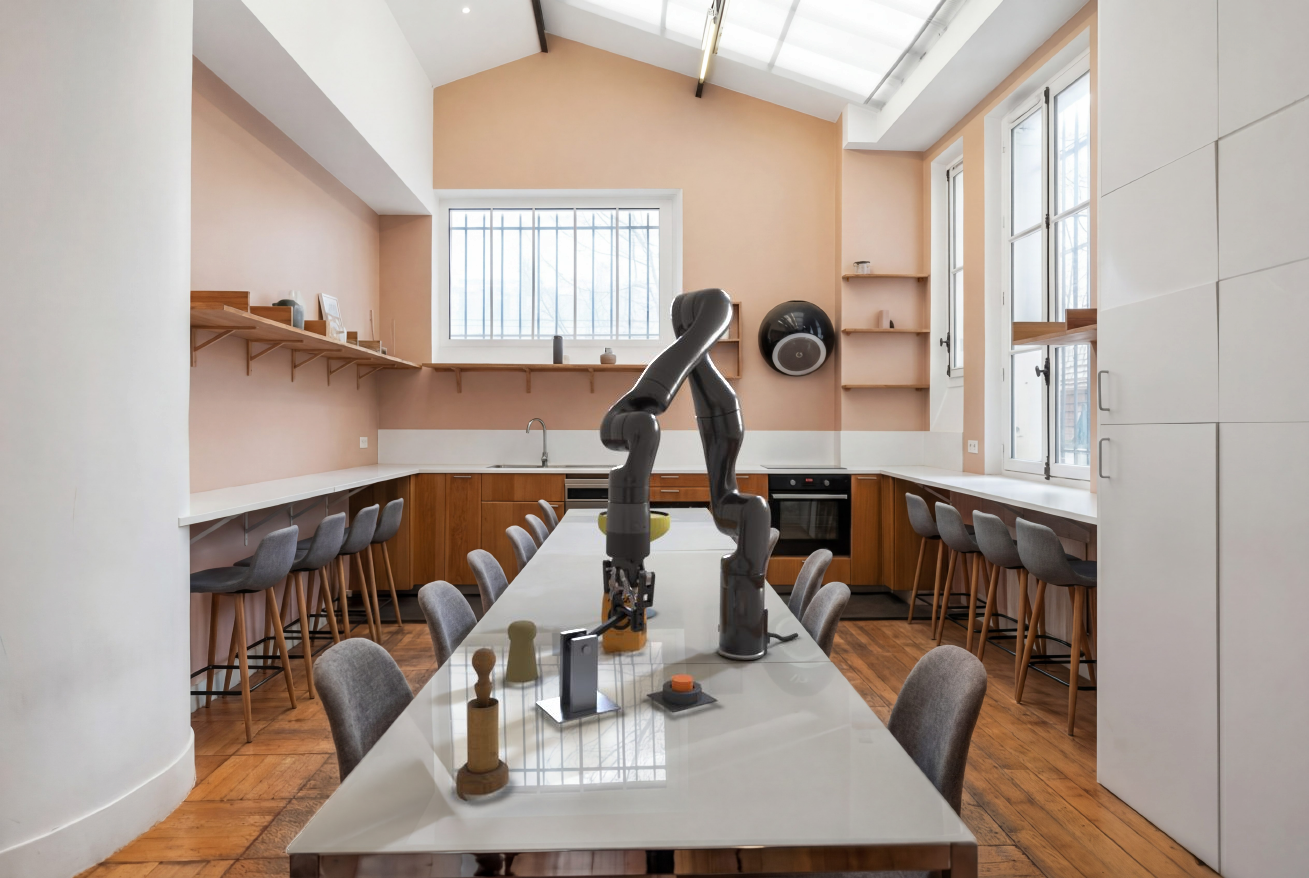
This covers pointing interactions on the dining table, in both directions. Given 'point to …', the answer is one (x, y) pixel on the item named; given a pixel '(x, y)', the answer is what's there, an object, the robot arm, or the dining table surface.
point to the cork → (521, 652)
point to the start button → (682, 682)
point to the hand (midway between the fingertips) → (626, 625)
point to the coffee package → (621, 630)
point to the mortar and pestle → (482, 735)
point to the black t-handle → (608, 622)
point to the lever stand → (578, 681)
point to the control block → (681, 697)
